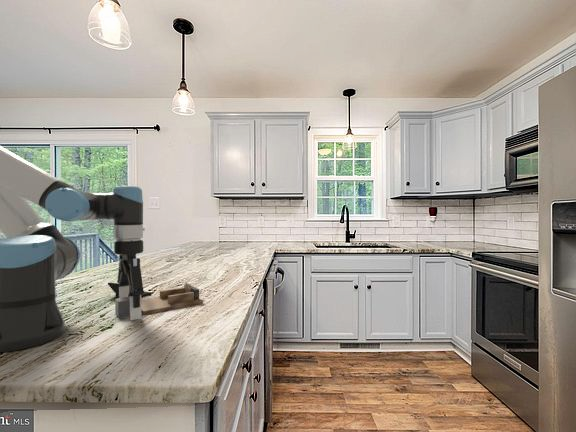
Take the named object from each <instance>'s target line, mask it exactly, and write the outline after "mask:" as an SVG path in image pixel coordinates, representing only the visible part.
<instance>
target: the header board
mask: <svg viewBox="0 0 576 432" xmlns="http://www.w3.org/2000/svg"><path fill="white" fill-rule="evenodd" d="M202 304H204V300H203V299H201V298H200V288H197V287H195V286H193V285H192V284H189V283H187V282H185V283H184V285H183V287H177V288H171V289H162V290H160V291H159V296H153V297H148V298H147V297H146V298H141V315H143V316H144V315H151V314H155V313H160V312H167V311H171V310H176V309H181V308H187V307H192V306H197V305H202Z"/></svg>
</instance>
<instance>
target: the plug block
mask: <svg viewBox="0 0 576 432" xmlns="http://www.w3.org/2000/svg"><path fill="white" fill-rule="evenodd" d="M114 301H115V303H114V304H115V305H114V306H115V311H114V313H115V315H116V317H117V318H124V317H130V297H124V298H119V297H118V298H115V300H114Z"/></svg>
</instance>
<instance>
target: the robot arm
mask: <svg viewBox="0 0 576 432" xmlns="http://www.w3.org/2000/svg"><path fill="white" fill-rule="evenodd" d="M27 200H28V201H29V202H31V203H34V204H36V205H38V206H39V207H41V208H42V209H44V210H46V211H47V213H48V214H49V215H50V216H51V217H52V218H54V219H56V220H58V221H63V222H76V221H90V220H91V221H93V220H94V221H95V220H99V221H100V220H113V239H114V240H115V241H114V242H113V247H114V249H113V253H114V254H115V255H117V256H118V255H119V256H118V258H119V263H118V271H117V280H116V281H117V282H116V283H118V285H119V286H121V287H119V296H118V298H124V297H130V316H129V320H130V321H134V320H139V319H142V313H141V299H142V298H141V295H142V294H143V293H144V291H145V290H144V285H143V276H142V269H141V259H140V258H138V257H137V254H142V253H143V252H144V241H143V240H142V239H143V238H144V232H145V230H146V229H145V227H144V199H143V189H141V187H139V186H134V185H116V186H114V187H113V190H112V192H107V193H106V192H103V193H102V192H88V191H83V190H79V189H77V188H76V187H74V186H73V185H70V184H68V183H67V182H65V181H62V180H61V179H59V178H58V177H56V176H54V175H52V174H51V173H48V172H46V171H44V170H43V169H41V168H40V167H38V166H36V165H34V164H33V163H31V162H29V161H27V160H25V159H24V158H22V157H20V156H19V155H16V154H15V153H14V152H11V151H9V150H8V149H6V148H4V147H2V146H1V145H0V232H1V233H2V234H3V235H4V237H5V238H1V239H0V353H4V352H6V353H7V352H12V351H13V352H14V351H19V350H24V349H29V348H33V347H37V346H40V345H43V344H45V343H49V342H52V341H53V340H56V339H57V338H60V337H61V336H62V335H64V333H65V332H66V331H65V328H66V327H65V326H66V325H65V320H64V318H63V316H62V313H61V311H60V308H59V306H58V304H57V301H56V300H57V299H56V281H58V280H61V279H64V278H66V277H67V276H68V275H71V273H72V272H73V271H75V269H77V267H78V265H79V263H80V261H81V251H80V248H79V246H78V243H76V242H75V241H74V240H72V239H71V238H69V237H67V236H64V235H63V234H62V233H61V232H60V230H59V229H58V227H56V225H55V224H53V223H47V222H44V221H43V219H42V218H41V217H40V215H39V214H38V213H37V212H36V210H34V207H32V206H31V204H30V203H29V202H28V201H27ZM126 285H129V286H130V292H131V293H129V286H126Z"/></svg>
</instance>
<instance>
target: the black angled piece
mask: <svg viewBox="0 0 576 432" xmlns="http://www.w3.org/2000/svg"><path fill="white" fill-rule="evenodd" d="M107 284H108V286H109V287H110V289H111V290H112V292H114V294H115V296H116V297H119V287H121V286H119V285H118V284H119V283H118V282H107ZM126 286H129V285H126ZM129 293H131V292H130V286H129ZM151 294H153V293H152V292H150V291H145V290H144V293H143V294H142V295H141V299H143V298H145V297H148V295H149V296H152V295H151Z"/></svg>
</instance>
